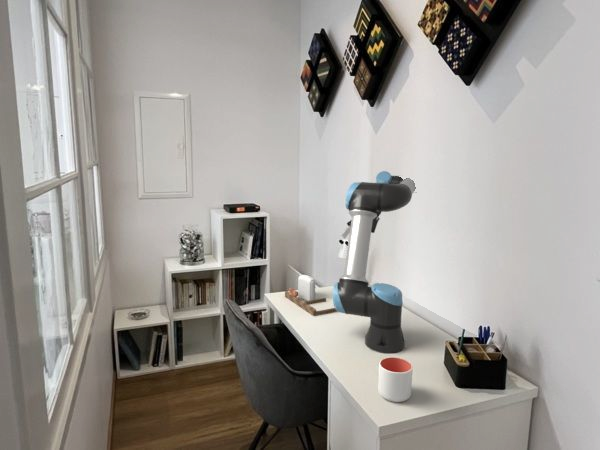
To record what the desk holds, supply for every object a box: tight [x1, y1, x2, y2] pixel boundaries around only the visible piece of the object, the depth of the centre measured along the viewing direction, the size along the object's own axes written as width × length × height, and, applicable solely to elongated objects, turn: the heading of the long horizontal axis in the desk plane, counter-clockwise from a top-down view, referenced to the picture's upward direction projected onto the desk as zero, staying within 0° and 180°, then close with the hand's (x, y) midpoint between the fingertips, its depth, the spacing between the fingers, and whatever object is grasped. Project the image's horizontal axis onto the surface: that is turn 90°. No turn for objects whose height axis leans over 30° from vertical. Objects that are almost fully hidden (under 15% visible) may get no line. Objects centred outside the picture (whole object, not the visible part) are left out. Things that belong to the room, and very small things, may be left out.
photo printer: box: [297, 274, 316, 301], centre depth 217 cm, size 10×4×12 cm, turn 40°
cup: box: [377, 356, 413, 403], centre depth 132 cm, size 10×10×10 cm
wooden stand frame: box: [284, 287, 339, 317], centre depth 211 cm, size 29×15×6 cm, turn 29°
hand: (350, 239), depth 214 cm, fingers open, 13 cm apart
